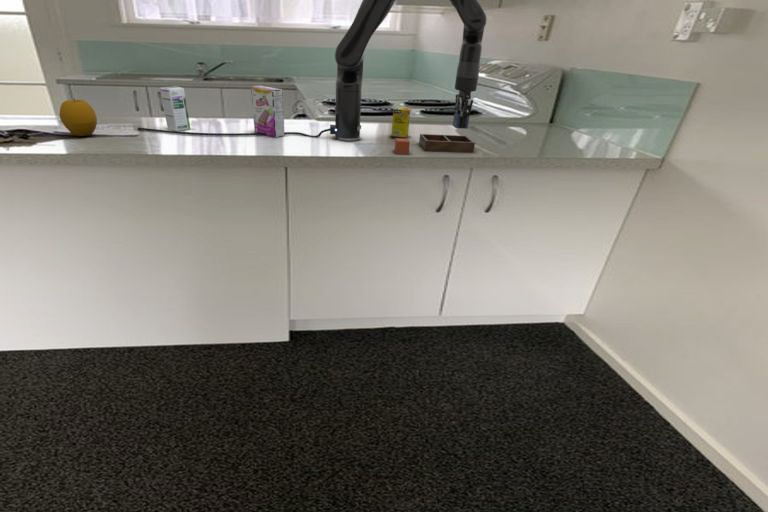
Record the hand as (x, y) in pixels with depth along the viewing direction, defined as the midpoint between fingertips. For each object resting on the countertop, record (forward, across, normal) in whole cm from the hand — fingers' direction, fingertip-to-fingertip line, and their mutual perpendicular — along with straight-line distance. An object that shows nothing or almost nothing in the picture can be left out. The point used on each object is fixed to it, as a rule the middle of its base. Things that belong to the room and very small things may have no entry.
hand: (460, 126), depth 152 cm
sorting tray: (+8, 0, -4) cm, 9 cm away
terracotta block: (+8, +9, -22) cm, 25 cm away
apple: (+8, +2, -127) cm, 128 cm away
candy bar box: (+8, -11, -69) cm, 71 cm away
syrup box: (+8, -14, -102) cm, 104 cm away
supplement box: (+8, -15, -19) cm, 26 cm away
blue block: (0, 0, 0) cm, 0 cm away
